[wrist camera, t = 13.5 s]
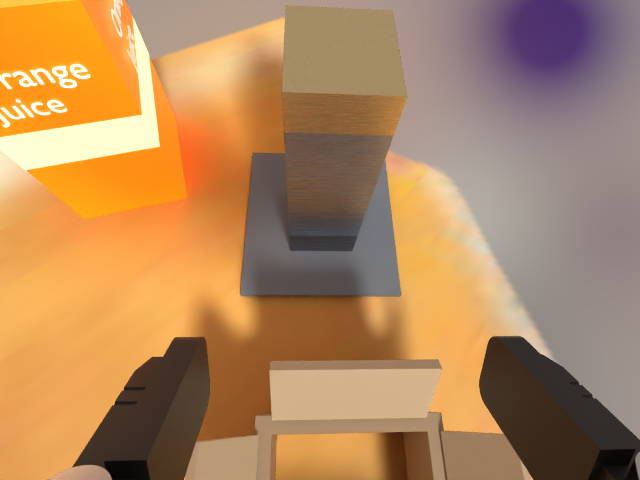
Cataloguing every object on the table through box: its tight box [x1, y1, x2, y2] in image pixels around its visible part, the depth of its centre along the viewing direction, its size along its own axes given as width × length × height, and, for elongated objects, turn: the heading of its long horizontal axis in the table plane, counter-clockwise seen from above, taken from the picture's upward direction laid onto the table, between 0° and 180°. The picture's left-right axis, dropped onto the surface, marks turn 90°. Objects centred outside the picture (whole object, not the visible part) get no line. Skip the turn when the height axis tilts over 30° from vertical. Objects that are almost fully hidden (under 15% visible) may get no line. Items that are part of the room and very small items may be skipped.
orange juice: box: [0, 0, 187, 219], centre depth 19 cm, size 8×9×20 cm
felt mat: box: [240, 153, 401, 296], centre depth 26 cm, size 11×12×1 cm
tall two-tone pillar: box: [282, 5, 407, 251], centre depth 20 cm, size 4×5×14 cm
